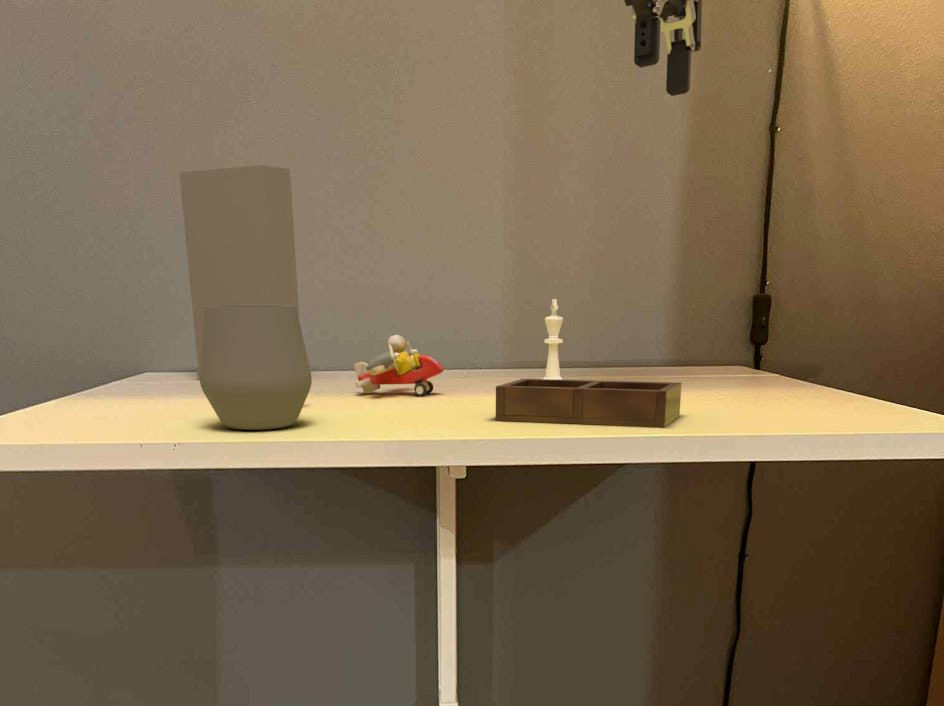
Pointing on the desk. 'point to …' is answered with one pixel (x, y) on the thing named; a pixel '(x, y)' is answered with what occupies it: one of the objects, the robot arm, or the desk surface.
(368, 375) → the toy airplane
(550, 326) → the chess piece
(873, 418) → the desk surface
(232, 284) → the khaki block
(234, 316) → the cup
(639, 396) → the divided tray
